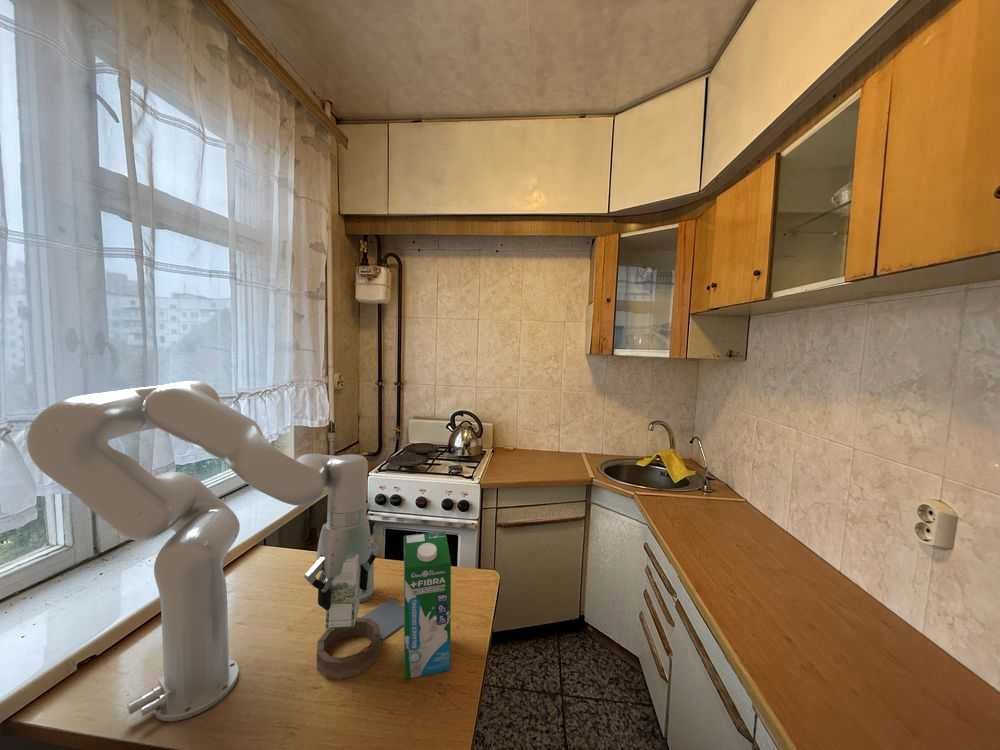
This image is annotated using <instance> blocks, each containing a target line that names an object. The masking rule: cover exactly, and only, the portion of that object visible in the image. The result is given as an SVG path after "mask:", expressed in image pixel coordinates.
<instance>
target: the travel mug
mask: <svg viewBox="0 0 1000 750" xmlns="http://www.w3.org/2000/svg"><path fill="white" fill-rule="evenodd" d="M368 521H369V527H370V537H371V542H373V543H375V541H374V540H375V539H374V538H375V537H374V535H375V534H374V526H375V525H376V524H375V523H376V522H375V521H374V520H373V519H369V518H368ZM374 565H375V560H374V561H373V563H372V564H371V569H370V570H369V571H368V582H367V590H365V591H364V590H362V589H360V593H359V604H360V603H364V602H368V601H369V600H370V599H371V598H373V596H374V593H375V566H374Z"/></svg>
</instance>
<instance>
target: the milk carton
mask: <svg viewBox="0 0 1000 750" xmlns="http://www.w3.org/2000/svg"><path fill="white" fill-rule="evenodd" d="M451 568H452V560H451V556H450V549H449V543H448V538H447V533H446V531H445V530H444V531H435V532H429V533H421V534H417V533H416V534H411V535H410V534H409V535H403V606H404V626H403V656H404V657H403V661H404V662H403V663H404V680H409V679H410V680H411V679H414V678H418V677H422V676H423V677H424V676H427V675H432V674H437V673H441V672H446V671H450V670H451V641H452V638H451V633H452V632H451V631H452V629H451V625H452V623H451V616H452V615H451V612H452V611H451V610H452V609H451V608H452V606H451V605H452V604H451V603H452V602H451V600H452V591H451V590H452V569H451Z"/></svg>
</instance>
